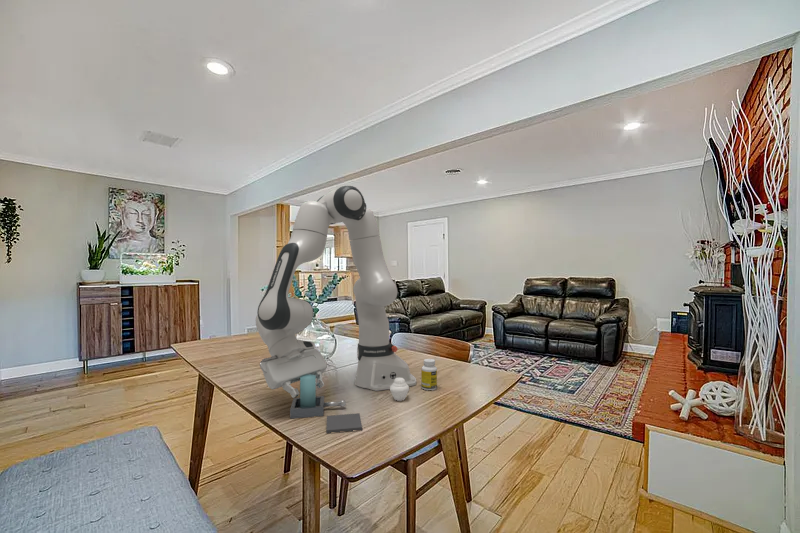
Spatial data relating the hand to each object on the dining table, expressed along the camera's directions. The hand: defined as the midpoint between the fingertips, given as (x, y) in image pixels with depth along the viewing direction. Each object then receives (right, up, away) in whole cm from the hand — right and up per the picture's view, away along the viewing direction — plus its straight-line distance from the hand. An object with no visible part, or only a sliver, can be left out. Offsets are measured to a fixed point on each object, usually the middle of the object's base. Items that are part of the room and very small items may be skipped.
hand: (309, 391), depth 103 cm
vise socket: (+3, -6, +1) cm, 7 cm away
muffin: (+26, -6, +10) cm, 29 cm away
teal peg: (-1, -6, 0) cm, 6 cm away
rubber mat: (+11, -6, -9) cm, 15 cm away
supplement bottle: (+36, -6, +20) cm, 42 cm away
